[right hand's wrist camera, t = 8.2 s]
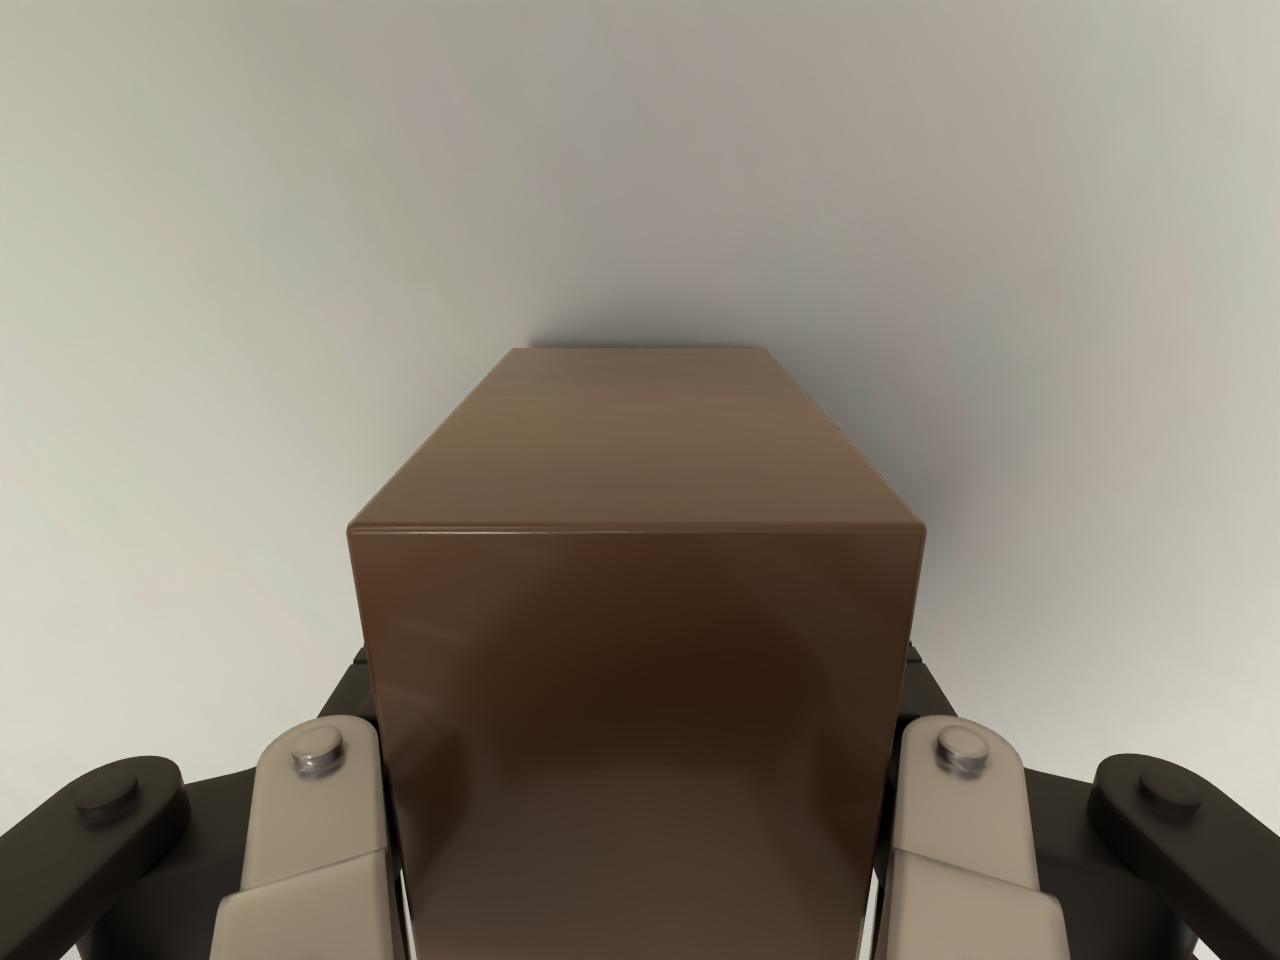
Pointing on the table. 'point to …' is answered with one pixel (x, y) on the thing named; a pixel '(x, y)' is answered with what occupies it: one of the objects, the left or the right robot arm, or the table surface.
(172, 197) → the table surface
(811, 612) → the bar
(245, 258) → the table surface
